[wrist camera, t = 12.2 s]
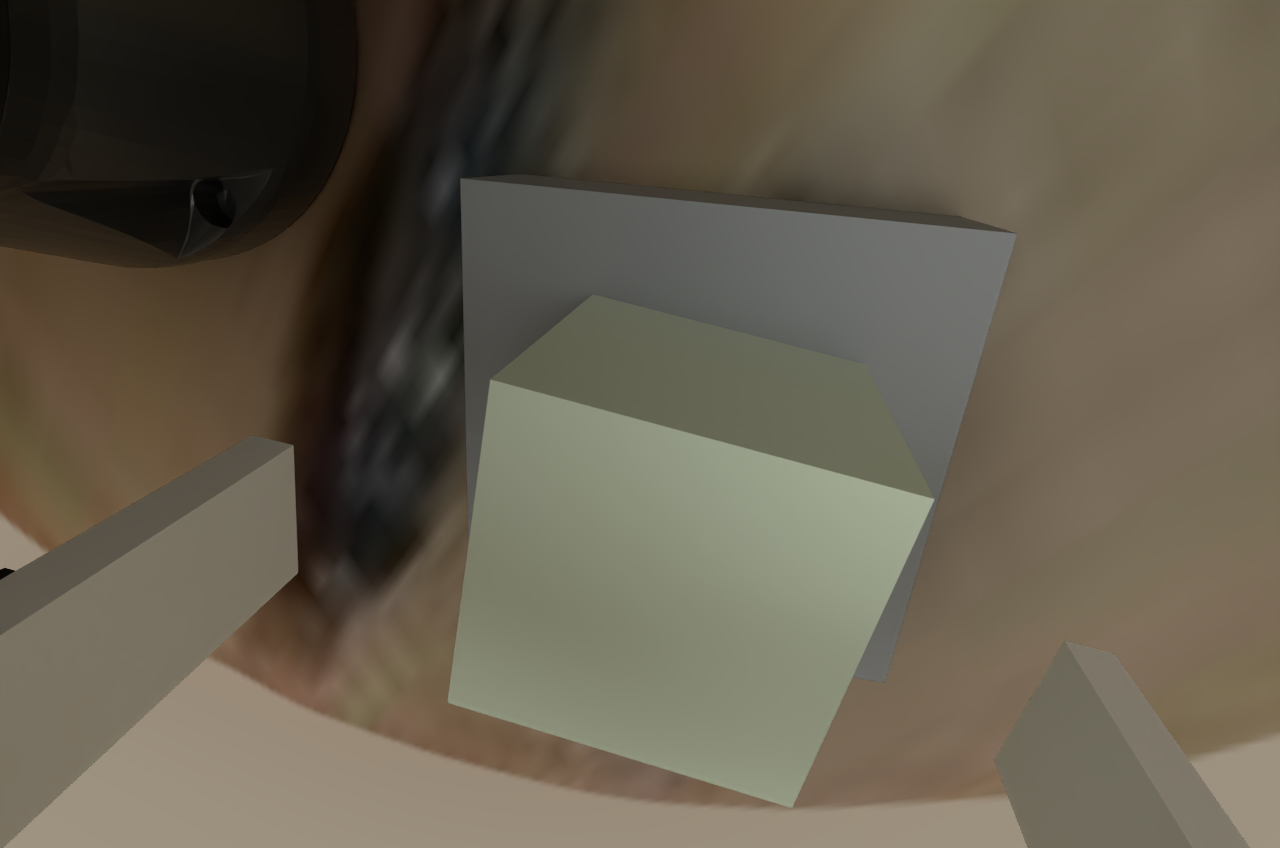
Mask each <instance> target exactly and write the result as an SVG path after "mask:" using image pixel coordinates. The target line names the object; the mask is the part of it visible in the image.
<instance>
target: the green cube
mask: <svg viewBox="0 0 1280 848" xmlns="http://www.w3.org/2000/svg"><path fill="white" fill-rule="evenodd" d="M934 500H935V499H934V497H933V495H932V493H931V491H930V489H929V487H928V485H927V483H926V481H925V479H924V477H923V475H922V474H921V472H920V470H919V468H918V466H917V464H916V462H915V460H914V458H913V456H912V454H911V452H910V450H909V448H908V446H907V444H906V442H905V440H904V438H903V436H902V435H901V433H900V431H899V429H898V427H897V425H896V423H895V421H894V419H893V417H892V415H891V413H890V411H889V409H888V407H887V405H886V403H885V401H884V399H883V398H882V396H881V394H880V392H879V390H878V388H877V386H876V384H875V382H874V380H873V378H872V376H871V374H870V372H869V370H868V368H867V366H866V364H862V363H859V362H855V361H851V360H847V359H843V358H839V357H835V356H831V355H828V354H824V353H820V352H816V351H812V350H808V349H804V348H800V347H796V346H793V345H789V344H785V343H781V342H777V341H773V340H769V339H765V338H761V337H758V336H754V335H750V334H746V333H742V332H738V331H734V330H730V329H726V328H723V327H719V326H715V325H711V324H707V323H703V322H699V321H695V320H692V319H688V318H684V317H680V316H676V315H672V314H668V313H664V312H660V311H657V310H653V309H649V308H645V307H641V306H637V305H633V304H629V303H625V302H622V301H618V300H614V299H610V298H606V297H602V296H598V295H594V294H593V295H591V296H590V297H589V298H588V299H587V300H585V301H584V302H583V303H582V304H581V305H579V306H578V307H577V308H576V309H575V310H573V311H572V312H571V313H570V314H569V315H567V316H566V317H565V318H564V319H563V320H561V321H560V322H559V323H558V324H557V325H555V326H554V327H553V328H552V329H551V330H549V331H548V332H547V333H546V334H545V335H543V336H542V337H541V338H540V339H538V340H537V341H536V342H535V343H534V344H532V345H531V346H530V347H529V348H528V349H526V350H525V351H524V352H523V353H522V354H520V355H519V356H518V357H517V358H516V359H514V360H513V361H512V362H511V363H510V364H508V365H507V366H506V367H505V368H504V369H502V370H501V371H500V372H499V373H498V374H496V375H495V376H494V377H493V378H492V379H490V386H489V393H488V401H487V409H486V416H485V424H484V431H483V439H482V446H481V454H480V461H479V469H478V476H477V484H476V492H475V499H474V507H473V514H472V522H471V529H470V537H469V544H468V552H467V559H466V567H465V575H464V582H463V590H462V597H461V605H460V612H459V620H458V627H457V635H456V643H455V650H454V658H453V665H452V673H451V680H450V688H449V695H448V703H450V704H454V705H457V706H460V707H463V708H467V709H470V710H473V711H476V712H480V713H483V714H486V715H490V716H493V717H496V718H499V719H503V720H506V721H509V722H512V723H516V724H519V725H522V726H525V727H529V728H532V729H535V730H539V731H542V732H545V733H548V734H552V735H555V736H558V737H561V738H565V739H568V740H571V741H574V742H578V743H581V744H584V745H588V746H591V747H594V748H597V749H601V750H604V751H607V752H610V753H614V754H617V755H620V756H623V757H627V758H630V759H633V760H637V761H640V762H643V763H646V764H650V765H653V766H656V767H659V768H663V769H666V770H669V771H672V772H676V773H679V774H682V775H686V776H689V777H692V778H695V779H699V780H702V781H705V782H708V783H712V784H715V785H718V786H721V787H725V788H728V789H731V790H735V791H738V792H741V793H744V794H748V795H751V796H754V797H757V798H761V799H764V800H767V801H770V802H774V803H777V804H780V805H784V806H787V807H790V808H792V807H793V805H794V802H795V800H796V798H797V796H798V794H799V792H800V789H801V787H802V785H803V783H804V781H805V779H806V777H807V774H808V772H809V770H810V768H811V766H812V764H813V761H814V759H815V757H816V755H817V753H818V751H819V748H820V746H821V744H822V742H823V740H824V738H825V735H826V733H827V731H828V729H829V727H830V725H831V722H832V720H833V718H834V716H835V714H836V712H837V709H838V707H839V705H840V703H841V701H842V699H843V696H844V694H845V692H846V690H847V688H848V686H849V683H850V681H851V679H852V677H853V675H854V673H855V671H856V668H857V666H858V664H859V662H860V660H861V658H862V655H863V653H864V651H865V649H866V647H867V645H868V642H869V640H870V638H871V636H872V634H873V632H874V629H875V627H876V625H877V623H878V621H879V619H880V616H881V614H882V612H883V610H884V608H885V606H886V603H887V601H888V599H889V597H890V595H891V593H892V590H893V588H894V586H895V584H896V582H897V580H898V577H899V575H900V573H901V571H902V569H903V567H904V565H905V562H906V560H907V558H908V556H909V554H910V552H911V549H912V547H913V545H914V543H915V541H916V539H917V536H918V534H919V532H920V530H921V528H922V526H923V523H924V521H925V519H926V517H927V515H928V513H929V510H930V508H931V506H932V504H933V502H934Z"/></svg>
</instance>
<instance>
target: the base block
mask: <svg viewBox="0 0 1280 848" xmlns="http://www.w3.org/2000/svg"><path fill="white" fill-rule="evenodd" d="M460 182H461V228H462V274H463V319H464V365H465V411H466V456H467V502H468V544H469V537H470V529H471V522H472V514H473V507H474V499H475V492H476V484H477V476H478V469H479V461H480V454H481V446H482V439H483V431H484V424H485V416H486V409H487V401H488V393H489V386H490V379H492V378H493V377H494V376H495V375H496V374H498V373H499V372H500V371H501V370H502V369H504V368H505V367H506V366H507V365H508V364H510V363H511V362H512V361H513V360H514V359H516V358H517V357H518V356H519V355H520V354H522V353H523V352H524V351H525V350H526V349H528V348H529V347H530V346H531V345H532V344H534V343H535V342H536V341H537V340H538V339H540V338H541V337H542V336H543V335H545V334H546V333H547V332H548V331H549V330H551V329H552V328H553V327H554V326H555V325H557V324H558V323H559V322H560V321H561V320H563V319H564V318H565V317H566V316H567V315H569V314H570V313H571V312H572V311H573V310H575V309H576V308H577V307H578V306H579V305H581V304H582V303H583V302H584V301H585V300H587V299H588V298H589V297H590V296H591V295H593V294H594V295H598V296H602V297H606V298H610V299H614V300H618V301H622V302H625V303H629V304H633V305H637V306H641V307H645V308H649V309H653V310H657V311H660V312H664V313H668V314H672V315H676V316H680V317H684V318H688V319H692V320H695V321H699V322H703V323H707V324H711V325H715V326H719V327H723V328H726V329H730V330H734V331H738V332H742V333H746V334H750V335H754V336H758V337H761V338H765V339H769V340H773V341H777V342H781V343H785V344H789V345H793V346H796V347H800V348H804V349H808V350H812V351H816V352H820V353H824V354H828V355H831V356H835V357H839V358H843V359H847V360H851V361H855V362H859V363H862V364H866V366H867V368H868V370H869V372H870V374H871V376H872V378H873V380H874V382H875V384H876V386H877V388H878V390H879V392H880V394H881V396H882V398H883V399H884V401H885V403H886V405H887V407H888V409H889V411H890V413H891V415H892V417H893V419H894V421H895V423H896V425H897V427H898V429H899V431H900V433H901V435H902V436H903V438H904V440H905V442H906V444H907V446H908V448H909V450H910V452H911V454H912V456H913V458H914V460H915V462H916V464H917V466H918V468H919V470H920V472H921V474H922V475H923V477H924V479H925V481H926V483H927V485H928V487H929V489H930V491H931V493H932V495H933V497H934V499H935V500H934V502H933V504H932V506H931V508H930V510H929V513H928V515H927V517H926V519H925V521H924V523H923V526H922V528H921V530H920V532H919V534H918V536H917V539H916V541H915V543H914V545H913V547H912V549H911V552H910V554H909V556H908V558H907V560H906V562H905V565H904V567H903V569H902V571H901V573H900V575H899V577H898V580H897V582H896V584H895V586H894V588H893V590H892V593H891V595H890V597H889V599H888V601H887V603H886V606H885V608H884V610H883V612H882V614H881V616H880V619H879V621H878V623H877V625H876V627H875V629H874V632H873V634H872V636H871V638H870V640H869V642H868V645H867V647H866V649H865V651H864V653H863V655H862V658H861V660H860V662H859V664H858V666H857V668H856V671H855V673H854V675H853V677H855V678H860V679H866V680H871V681H877V682H882V683H885V680H886V677H887V673H888V670H889V667H890V663H891V660H892V656H893V653H894V650H895V646H896V643H897V639H898V636H899V633H900V629H901V626H902V623H903V619H904V616H905V612H906V609H907V606H908V602H909V599H910V595H911V592H912V589H913V585H914V582H915V578H916V575H917V572H918V568H919V565H920V562H921V558H922V555H923V551H924V548H925V545H926V541H927V538H928V534H929V531H930V528H931V524H932V521H933V517H934V514H935V511H936V507H937V504H938V500H939V497H940V494H941V490H942V487H943V484H944V480H945V477H946V473H947V470H948V467H949V463H950V460H951V456H952V453H953V450H954V446H955V443H956V439H957V436H958V433H959V429H960V426H961V423H962V419H963V416H964V412H965V409H966V406H967V402H968V399H969V395H970V392H971V389H972V385H973V382H974V378H975V375H976V372H977V368H978V365H979V362H980V358H981V355H982V351H983V348H984V345H985V341H986V338H987V334H988V331H989V328H990V324H991V321H992V317H993V314H994V311H995V307H996V304H997V300H998V297H999V294H1000V290H1001V287H1002V284H1003V280H1004V277H1005V273H1006V270H1007V267H1008V263H1009V260H1010V256H1011V253H1012V250H1013V246H1014V243H1015V239H1016V236H1017V233H1014V232H1010V231H1007V230H1004V229H1000V228H997V227H994V226H990V225H987V224H984V223H980V222H977V221H974V220H970V219H967V218H964V217H959V216H949V215H939V214H928V213H918V212H908V211H898V210H887V209H877V208H867V207H856V206H846V205H836V204H825V203H815V202H805V201H795V200H784V199H774V198H764V197H753V196H743V195H733V194H722V193H712V192H702V191H692V190H681V189H671V188H661V187H650V186H640V185H630V184H619V183H609V182H599V181H589V180H578V179H568V178H558V177H547V176H537V175H527V174H514V175H500V176H487V177H473V178H460Z"/></svg>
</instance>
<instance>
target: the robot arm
mask: <svg viewBox="0 0 1280 848" xmlns="http://www.w3.org/2000/svg"><path fill="white" fill-rule="evenodd" d="M356 61H357V44H356V24H355V12H354V4H353V0H0V246H3V247H8V248H14V249H20V250H26V251H32V252H37V253H43V254H49V255H55V256H61V257H66V258H72V259H78V260H84V261H89V262H95V263H101V264H107V265H113V266H121V267H137V268H158V267H171V266H178V265H184V264H190V263H195V262H200V261H206V260H211V259H217V258H222V257H227V256H231V255H235V254H238V253H241V252H244V251H247V250H250V249H252V248H254V247H256V246H259V245H261V244H263V243H265V242H266V241H268V240H270V239H271V238H273V237H275V236H276V235H278V234H279V233H280V232H282V231H283V230H284V229H286V228H287V227H288V226H289V225H290V224H292V223H293V222H294V221H295V220H296V219H297V218H298V217H299V216H300V215H301V214H302V213H303V212H304V211H305V210H306V208H307V207H308V206H309V205H310V204H311V202H312V201H313V200H314V198H315V197H316V196H317V194H318V193H319V191H320V190H321V188H322V186H323V185H324V183H325V182H326V180H327V178H328V176H329V174H330V172H331V170H332V168H333V166H334V164H335V161H336V159H337V157H338V154H339V152H340V149H341V146H342V143H343V140H344V137H345V134H346V130H347V126H348V123H349V119H350V114H351V108H352V103H353V97H354V88H355V79H356ZM297 573H298V555H297V528H296V500H295V473H294V446H293V445H290V444H286V443H282V442H278V441H275V440H271V439H267V438H263V437H259V436H255V435H251V436H250V437H248V438H246V439H245V440H243V441H241V442H239V443H238V444H236V445H234V446H232V447H231V448H229V449H227V450H225V451H224V452H222V453H220V454H218V455H217V456H215V457H213V458H211V459H210V460H208V461H206V462H205V463H203V464H201V465H199V466H198V467H196V468H194V469H192V470H191V471H189V472H187V473H185V474H184V475H182V476H180V477H178V478H177V479H175V480H173V481H171V482H170V483H168V484H166V485H165V486H163V487H161V488H159V489H158V490H156V491H154V492H152V493H151V494H149V495H147V496H145V497H144V498H142V499H140V500H138V501H137V502H135V503H133V504H131V505H130V506H128V507H126V508H125V509H123V510H121V511H119V512H118V513H116V514H114V515H112V516H111V517H109V518H107V519H105V520H104V521H102V522H100V523H98V524H97V525H95V526H93V527H91V528H90V529H88V530H86V531H85V532H83V533H81V534H79V535H78V536H76V537H74V538H72V539H71V540H69V541H67V542H65V543H64V544H62V545H60V546H58V547H57V548H55V549H53V550H51V551H50V552H48V553H46V554H45V555H43V556H41V557H40V558H38V559H36V560H34V561H33V562H31V563H29V564H27V565H25V566H24V567H22V568H20V569H19V570H17V571H14V570H10V569H7V568H4V569H1V570H0V848H3V847H4V846H5V845H7V844H8V843H9V842H10V841H11V840H12V839H13V838H14V837H15V836H16V835H17V834H18V833H19V832H21V830H23V829H24V828H25V827H26V826H27V825H28V824H29V823H30V822H31V821H32V820H33V819H34V818H36V817H37V816H38V815H39V814H40V813H41V812H42V811H43V810H44V809H45V808H46V807H47V806H48V805H49V804H51V803H52V802H53V801H54V800H55V799H56V798H57V797H58V796H59V795H60V794H61V793H62V792H63V791H64V790H66V789H67V788H68V787H69V786H70V785H71V784H72V783H73V782H74V781H75V780H76V779H77V778H78V777H79V776H81V775H82V774H83V773H84V772H85V771H86V770H87V769H88V768H89V767H90V766H91V765H92V764H93V763H95V762H96V761H97V760H98V759H99V758H100V757H101V756H102V755H103V754H104V753H105V752H106V751H107V750H108V749H109V748H111V747H112V746H113V745H114V744H115V743H116V742H117V741H118V740H119V739H120V738H121V737H122V736H123V735H125V734H126V733H127V732H128V731H129V730H130V729H131V728H132V727H133V726H134V725H135V724H136V723H137V722H139V720H141V719H142V718H143V717H144V716H145V715H146V714H147V713H148V712H149V711H150V710H151V709H152V708H154V707H155V706H156V705H157V704H158V703H159V702H160V701H161V700H162V699H163V698H164V697H165V696H166V695H167V694H169V693H170V691H172V690H173V689H174V688H175V687H176V686H177V685H178V684H179V683H180V682H181V681H183V680H184V678H186V677H187V676H188V675H189V674H190V673H191V672H192V671H193V670H194V669H195V668H196V667H197V666H199V665H200V664H201V663H202V662H203V661H204V660H205V659H206V658H207V657H208V656H209V655H210V654H211V653H213V652H214V651H215V650H216V649H217V648H218V647H219V646H220V645H221V644H222V643H223V642H224V641H225V640H227V639H228V638H229V637H230V636H231V635H232V634H233V633H234V632H235V631H236V630H237V629H238V628H239V627H240V626H242V625H243V624H244V623H245V622H246V621H247V620H248V619H249V618H250V617H251V616H252V615H253V614H254V613H255V612H257V611H258V610H259V609H260V608H261V607H262V606H263V605H264V604H265V603H266V602H267V601H268V600H269V599H270V598H272V597H273V596H274V595H275V594H276V593H277V592H278V591H279V590H280V589H281V588H282V587H283V586H284V585H286V584H287V583H288V582H289V581H290V580H291V579H292V578H293V577H294V576H295V575H296V574H297ZM994 761H995V763H996V766H997V769H998V771H999V774H1000V776H1001V779H1002V782H1003V784H1004V787H1005V789H1006V792H1007V795H1008V797H1009V800H1010V802H1011V805H1012V807H1013V810H1014V813H1015V815H1016V818H1017V821H1018V823H1019V826H1020V828H1021V831H1022V834H1023V836H1024V839H1025V842H1026V844H1027V847H1028V848H1250V847H1249V846H1248V844H1247V843H1246V841H1245V840H1244V838H1243V837H1242V836H1241V834H1240V833H1239V831H1238V830H1237V828H1236V827H1235V826H1234V824H1233V823H1232V821H1231V820H1230V818H1229V817H1228V816H1227V814H1226V813H1225V812H1224V810H1223V809H1222V807H1221V806H1220V804H1219V803H1218V801H1217V800H1216V798H1215V797H1214V796H1213V794H1212V793H1211V791H1210V790H1209V788H1208V787H1207V786H1206V784H1205V783H1204V781H1203V780H1202V779H1201V777H1200V776H1199V774H1198V773H1197V771H1196V770H1195V768H1194V767H1193V766H1192V764H1191V763H1190V761H1189V760H1188V758H1187V757H1186V756H1185V754H1184V753H1183V751H1182V750H1181V748H1180V747H1179V746H1178V744H1177V743H1176V741H1175V740H1174V738H1173V737H1172V736H1171V734H1170V733H1169V731H1168V730H1167V728H1166V727H1165V726H1164V724H1163V723H1162V721H1161V720H1160V718H1159V717H1158V716H1157V714H1156V713H1155V711H1154V710H1153V708H1152V707H1151V706H1150V704H1149V703H1148V701H1147V700H1146V698H1145V697H1144V696H1143V694H1142V693H1141V691H1140V690H1139V688H1138V687H1137V686H1136V684H1135V683H1134V681H1133V680H1132V678H1131V677H1130V676H1129V674H1128V673H1127V671H1126V670H1125V668H1124V667H1123V666H1122V664H1121V663H1120V661H1119V660H1118V658H1117V657H1116V656H1115V654H1114V653H1110V652H1106V651H1102V650H1098V649H1094V648H1090V647H1087V646H1083V645H1079V644H1075V643H1071V642H1067V641H1064V643H1063V644H1062V646H1061V648H1060V649H1059V651H1058V653H1057V655H1056V656H1055V658H1054V660H1053V661H1052V663H1051V665H1050V666H1049V668H1048V670H1047V671H1046V673H1045V675H1044V676H1043V678H1042V680H1041V682H1040V683H1039V685H1038V687H1037V688H1036V690H1035V692H1034V693H1033V695H1032V697H1031V698H1030V700H1029V702H1028V703H1027V705H1026V707H1025V709H1024V710H1023V712H1022V714H1021V715H1020V717H1019V719H1018V720H1017V722H1016V724H1015V725H1014V727H1013V729H1012V730H1011V732H1010V734H1009V736H1008V737H1007V739H1006V741H1005V742H1004V744H1003V746H1002V747H1001V749H1000V751H999V752H998V754H997V756H996V758H995V759H994Z"/></svg>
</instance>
